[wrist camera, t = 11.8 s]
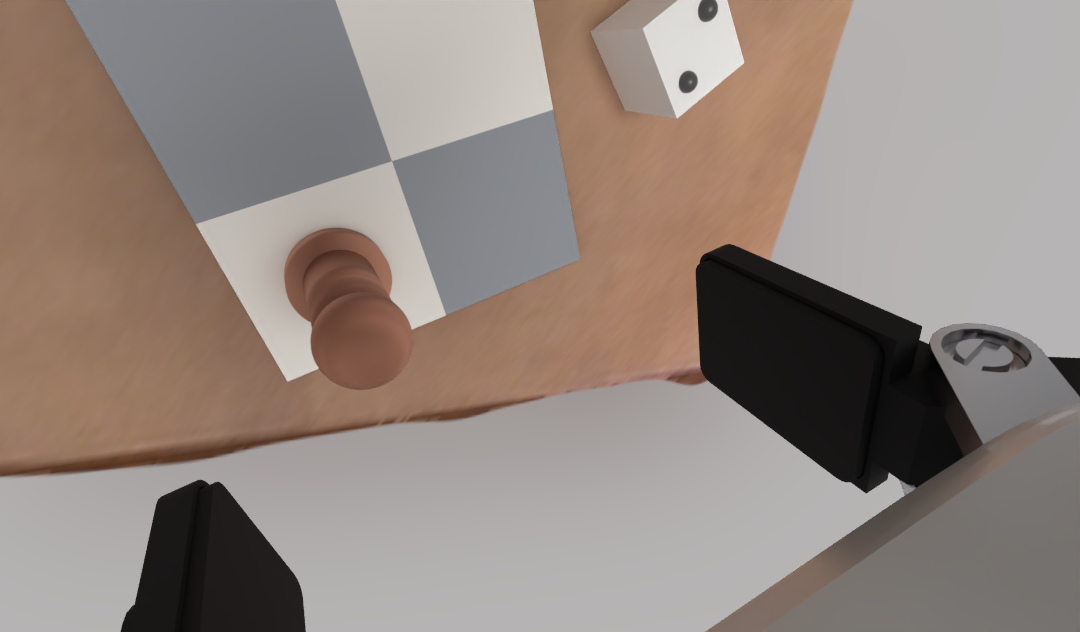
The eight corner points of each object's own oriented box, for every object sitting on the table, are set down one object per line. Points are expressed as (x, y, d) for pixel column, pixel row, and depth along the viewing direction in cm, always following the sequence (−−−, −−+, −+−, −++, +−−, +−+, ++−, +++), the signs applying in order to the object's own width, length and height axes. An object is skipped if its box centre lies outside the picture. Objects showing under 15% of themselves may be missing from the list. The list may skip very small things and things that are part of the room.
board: (455, -402, 20) (458, -409, 20) (577, 257, 35) (580, 259, 35) (-164, -398, 15) (-173, -408, 15) (287, 378, 30) (287, 381, 29)
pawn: (367, 213, 28) (414, 279, 20) (400, 298, 30) (454, 386, 22) (265, 248, 26) (271, 335, 18) (309, 334, 29) (332, 442, 21)
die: (655, -21, 30) (726, -34, 26) (684, 61, 33) (752, 62, 29) (589, 31, 30) (649, 27, 25) (624, 110, 33) (683, 119, 28)
